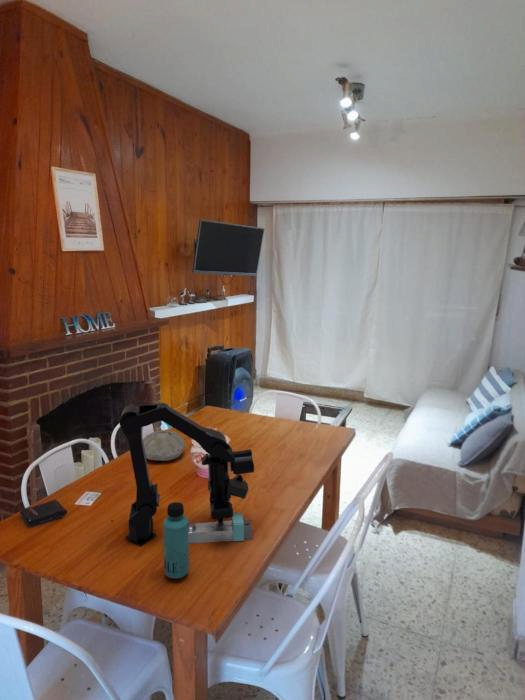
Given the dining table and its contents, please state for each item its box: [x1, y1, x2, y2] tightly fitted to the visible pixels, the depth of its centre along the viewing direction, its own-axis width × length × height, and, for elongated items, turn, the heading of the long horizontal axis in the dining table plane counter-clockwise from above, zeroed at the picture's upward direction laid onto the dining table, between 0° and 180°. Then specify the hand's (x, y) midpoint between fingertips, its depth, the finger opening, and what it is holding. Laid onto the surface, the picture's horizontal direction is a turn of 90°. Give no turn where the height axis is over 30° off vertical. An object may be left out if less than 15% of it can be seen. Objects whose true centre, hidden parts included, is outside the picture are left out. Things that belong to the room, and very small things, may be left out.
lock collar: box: [231, 512, 245, 542], centre depth 139 cm, size 3×6×5 cm, turn 8°
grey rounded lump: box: [143, 429, 186, 462], centre depth 192 cm, size 18×18×10 cm
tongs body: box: [188, 522, 253, 545], centre depth 138 cm, size 20×4×4 cm, turn 98°
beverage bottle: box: [162, 501, 190, 579], centre depth 120 cm, size 6×7×20 cm
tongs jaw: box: [194, 518, 252, 528], centre depth 141 cm, size 18×2×3 cm, turn 100°
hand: (221, 522), depth 142 cm, fingers closed
